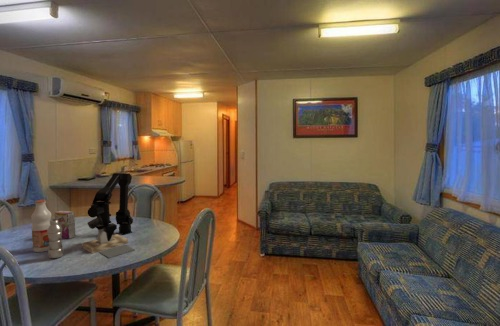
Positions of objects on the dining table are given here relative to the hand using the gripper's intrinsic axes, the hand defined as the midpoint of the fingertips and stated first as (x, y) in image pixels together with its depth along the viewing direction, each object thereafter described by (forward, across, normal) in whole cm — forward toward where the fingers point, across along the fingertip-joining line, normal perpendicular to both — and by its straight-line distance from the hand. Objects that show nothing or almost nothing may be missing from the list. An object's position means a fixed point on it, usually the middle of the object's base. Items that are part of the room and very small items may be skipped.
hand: (105, 239), depth 163 cm
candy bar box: (+4, -35, -10) cm, 37 cm away
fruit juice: (+4, -21, -25) cm, 33 cm away
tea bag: (+4, 0, 0) cm, 4 cm away
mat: (+4, +15, 0) cm, 15 cm away
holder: (+4, 0, 0) cm, 4 cm away
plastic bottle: (+4, -2, -24) cm, 24 cm away
